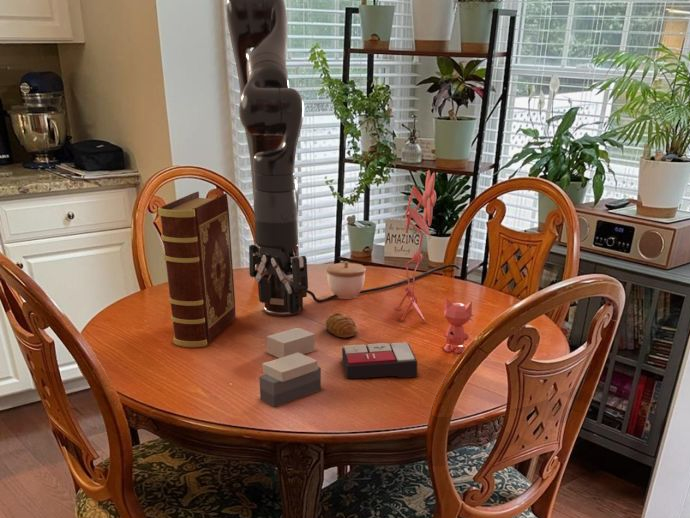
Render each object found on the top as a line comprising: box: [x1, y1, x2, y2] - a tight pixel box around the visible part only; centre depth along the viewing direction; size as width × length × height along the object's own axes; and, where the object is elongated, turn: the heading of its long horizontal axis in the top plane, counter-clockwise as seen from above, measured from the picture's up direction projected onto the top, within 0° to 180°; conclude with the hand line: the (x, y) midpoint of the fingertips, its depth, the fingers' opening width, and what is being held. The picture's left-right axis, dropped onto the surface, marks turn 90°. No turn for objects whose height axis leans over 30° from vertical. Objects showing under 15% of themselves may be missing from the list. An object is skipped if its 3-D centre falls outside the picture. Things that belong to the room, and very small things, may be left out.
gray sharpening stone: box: [258, 365, 322, 408], centre depth 141 cm, size 12×4×5 cm, turn 135°
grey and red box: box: [341, 341, 418, 380], centre depth 154 cm, size 11×4×15 cm
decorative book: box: [157, 191, 236, 349], centre depth 164 cm, size 22×8×30 cm, turn 168°
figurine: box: [396, 169, 444, 329], centre depth 177 cm, size 15×26×35 cm, turn 2°
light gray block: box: [266, 327, 316, 359], centre depth 161 cm, size 9×6×4 cm, turn 134°
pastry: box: [325, 312, 358, 338], centre depth 173 cm, size 9×7×4 cm
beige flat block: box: [262, 353, 319, 382], centre depth 139 cm, size 9×6×2 cm, turn 134°
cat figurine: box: [443, 298, 474, 354], centre depth 162 cm, size 7×7×12 cm
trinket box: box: [326, 261, 367, 300], centre depth 197 cm, size 11×11×9 cm
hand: (278, 307), depth 134 cm, fingers open, 8 cm apart
